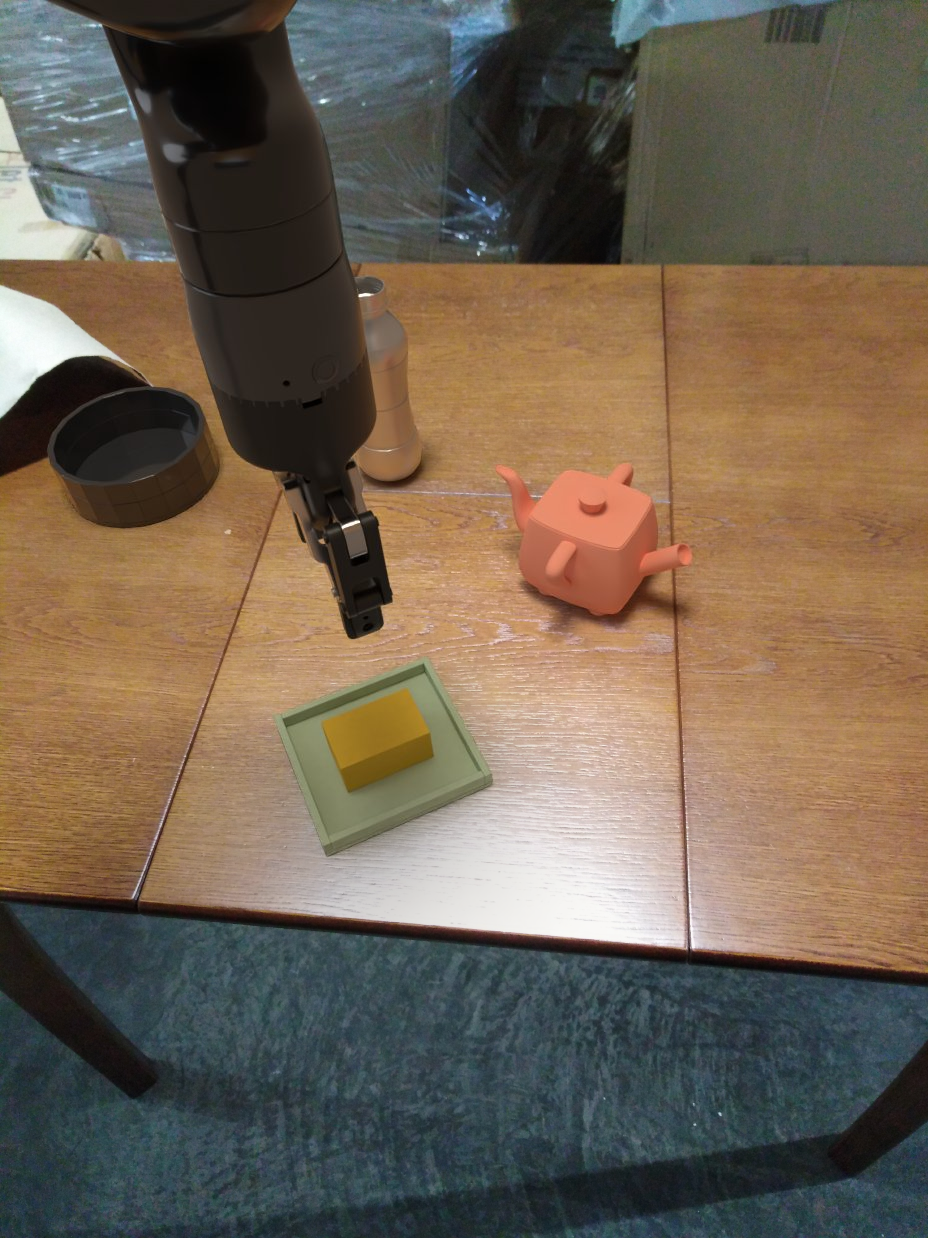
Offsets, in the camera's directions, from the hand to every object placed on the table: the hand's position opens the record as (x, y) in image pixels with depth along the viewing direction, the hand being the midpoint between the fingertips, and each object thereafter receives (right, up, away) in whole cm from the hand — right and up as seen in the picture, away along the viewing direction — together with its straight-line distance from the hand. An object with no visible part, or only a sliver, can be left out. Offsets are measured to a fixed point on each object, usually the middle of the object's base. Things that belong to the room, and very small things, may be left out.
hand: (340, 581), depth 54 cm
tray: (+1, -13, +15) cm, 20 cm away
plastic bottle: (0, +13, +37) cm, 39 cm away
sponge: (+1, -12, +15) cm, 20 cm away
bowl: (-25, +13, +38) cm, 48 cm away
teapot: (+18, +1, +26) cm, 32 cm away
